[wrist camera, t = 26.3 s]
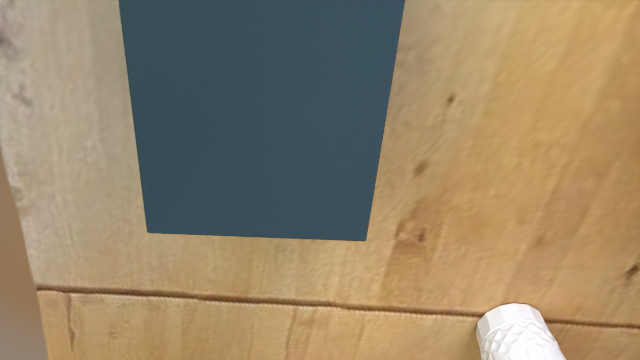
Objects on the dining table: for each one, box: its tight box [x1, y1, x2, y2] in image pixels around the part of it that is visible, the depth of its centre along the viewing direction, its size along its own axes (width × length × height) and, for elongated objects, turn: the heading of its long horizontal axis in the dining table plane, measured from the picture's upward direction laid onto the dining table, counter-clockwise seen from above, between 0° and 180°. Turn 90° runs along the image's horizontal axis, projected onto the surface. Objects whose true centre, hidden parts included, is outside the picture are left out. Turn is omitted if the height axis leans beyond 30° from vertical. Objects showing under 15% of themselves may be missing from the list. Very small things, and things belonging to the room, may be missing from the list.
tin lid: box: [119, 0, 405, 241], centre depth 31 cm, size 16×14×1 cm
